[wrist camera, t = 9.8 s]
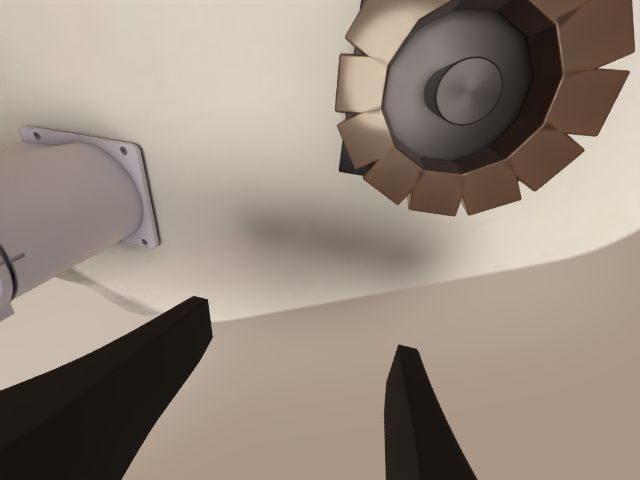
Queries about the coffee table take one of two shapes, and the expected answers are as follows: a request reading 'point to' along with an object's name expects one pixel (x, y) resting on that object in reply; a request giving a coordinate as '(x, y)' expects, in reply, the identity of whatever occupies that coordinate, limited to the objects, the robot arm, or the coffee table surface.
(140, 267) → the coffee table surface
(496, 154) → the ring
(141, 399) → the robot arm
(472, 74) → the rack
